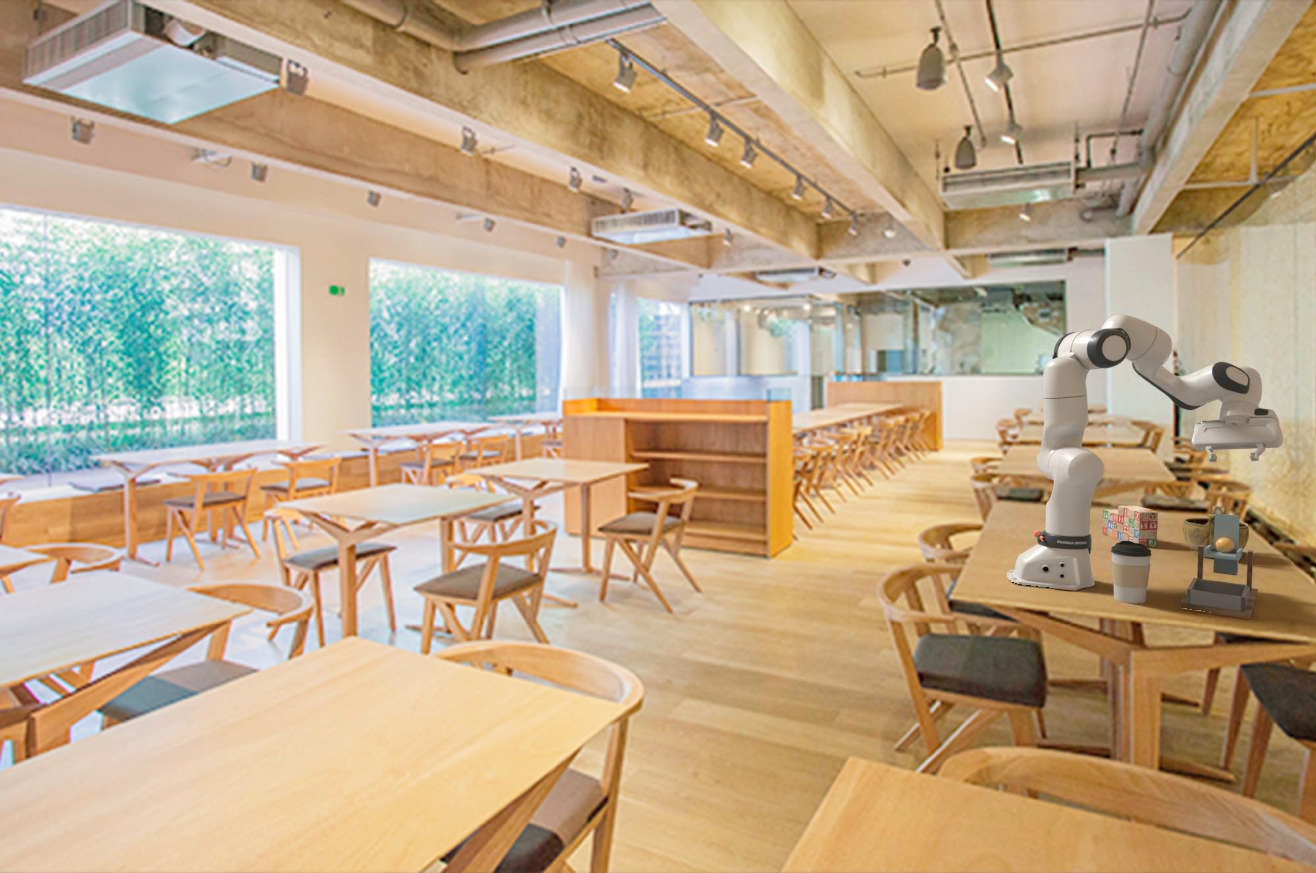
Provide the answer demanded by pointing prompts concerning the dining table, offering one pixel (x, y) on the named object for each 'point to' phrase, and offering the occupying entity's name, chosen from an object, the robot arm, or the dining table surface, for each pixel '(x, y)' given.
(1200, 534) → the ceramic bowl
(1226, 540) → the orange ball
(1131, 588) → the coffee cup
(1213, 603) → the bin
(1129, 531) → the stack of blocks
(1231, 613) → the walnut lever base
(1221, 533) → the tipping lever
